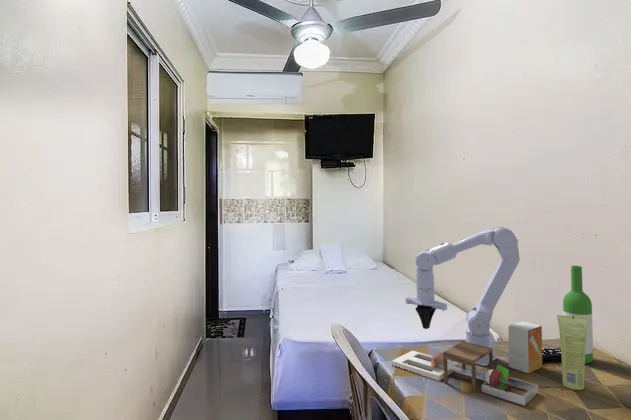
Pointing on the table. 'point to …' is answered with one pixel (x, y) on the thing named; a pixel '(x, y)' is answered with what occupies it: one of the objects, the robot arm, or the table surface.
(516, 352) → the small box
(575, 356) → the tube
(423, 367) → the pit board
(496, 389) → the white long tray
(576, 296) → the wine bottle
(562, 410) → the table surface
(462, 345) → the brown wooden stool
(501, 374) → the geometric puzzle
